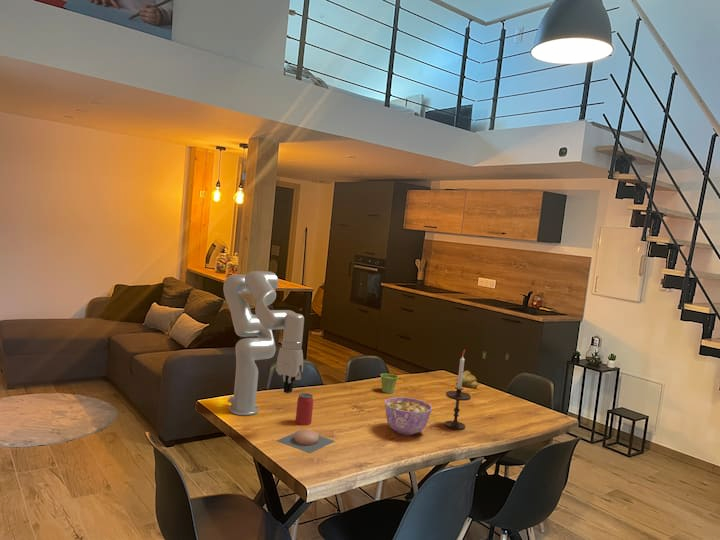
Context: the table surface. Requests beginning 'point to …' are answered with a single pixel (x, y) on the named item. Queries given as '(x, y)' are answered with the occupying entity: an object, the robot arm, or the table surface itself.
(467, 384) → the lumpy yellow-green gourd
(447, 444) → the table surface
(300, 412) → the beer can
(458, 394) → the candlestick
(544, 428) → the table surface
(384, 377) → the plant pot
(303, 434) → the pinkish beige domed disc
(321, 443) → the slate mat
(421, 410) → the bowl of food
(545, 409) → the table surface
